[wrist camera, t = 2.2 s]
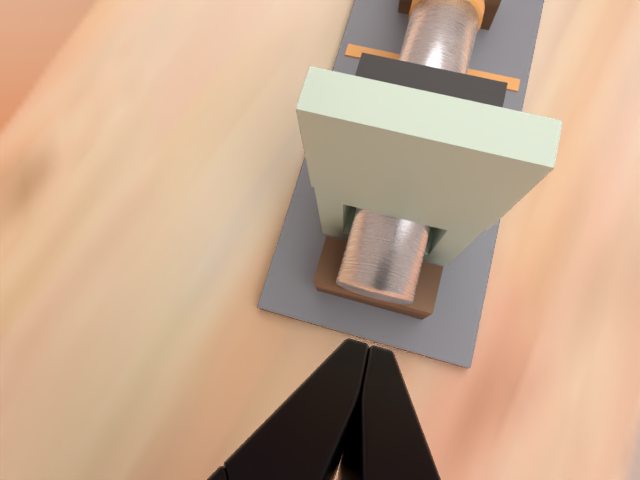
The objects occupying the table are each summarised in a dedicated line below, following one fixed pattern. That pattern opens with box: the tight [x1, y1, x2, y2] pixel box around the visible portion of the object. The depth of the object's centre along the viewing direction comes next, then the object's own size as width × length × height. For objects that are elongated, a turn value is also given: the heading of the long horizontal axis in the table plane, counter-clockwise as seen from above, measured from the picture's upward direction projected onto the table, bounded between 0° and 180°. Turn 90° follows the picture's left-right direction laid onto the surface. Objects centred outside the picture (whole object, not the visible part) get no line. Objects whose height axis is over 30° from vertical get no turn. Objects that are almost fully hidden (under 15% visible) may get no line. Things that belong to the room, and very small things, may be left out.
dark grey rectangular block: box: [355, 52, 508, 108], centre depth 19 cm, size 1×5×5 cm, turn 74°
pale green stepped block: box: [296, 66, 562, 266], centre depth 16 cm, size 4×6×11 cm, turn 74°
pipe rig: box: [257, 0, 544, 368], centre depth 21 cm, size 21×10×6 cm, turn 164°
